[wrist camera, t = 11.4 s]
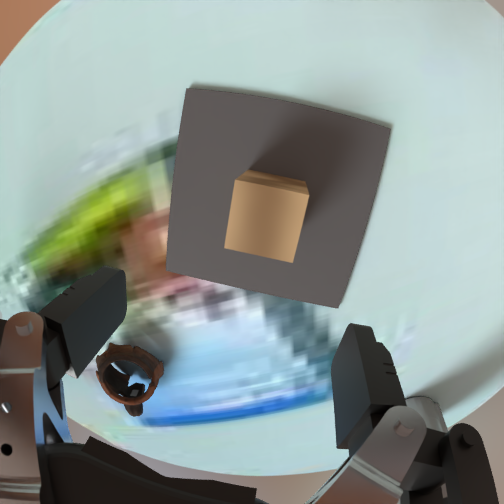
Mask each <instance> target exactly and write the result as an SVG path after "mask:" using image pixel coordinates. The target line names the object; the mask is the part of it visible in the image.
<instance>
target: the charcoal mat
mask: <svg viewBox="0 0 504 504" xmlns="http://www.w3.org/2000/svg"><path fill="white" fill-rule="evenodd" d="M390 130H391V129H389V128H386V127H383V126H380V125H377V124H374V123H371V122H368V121H364V120H361V119H358V118H354V117H351V116H347V115H343V114H340V113H336V112H332V111H328V110H324V109H320V108H316V107H311V106H307V105H302V104H297V103H293V102H288V101H282V100H277V99H271V98H265V97H259V96H253V95H246V94H239V93H231V92H222V91H213V90H202V89H189V88H186V94H185V100H184V105H183V111H182V117H181V124H180V130H179V137H178V144H177V151H176V159H175V167H174V176H173V185H172V194H171V204H170V215H169V228H168V241H167V257H166V271H170V272H174V273H178V274H182V275H186V276H190V277H194V278H198V279H203V280H207V281H211V282H215V283H220V284H224V285H228V286H233V287H237V288H242V289H246V290H250V291H255V292H260V293H264V294H269V295H273V296H278V297H283V298H288V299H292V300H297V301H302V302H307V303H312V304H317V305H322V306H327V307H332V308H339V305H340V302H341V300H342V297H343V294H344V291H345V289H346V286H347V283H348V280H349V277H350V275H351V272H352V269H353V266H354V263H355V260H356V257H357V254H358V251H359V248H360V244H361V241H362V238H363V235H364V232H365V228H366V225H367V222H368V218H369V215H370V211H371V208H372V204H373V201H374V197H375V193H376V189H377V186H378V182H379V178H380V174H381V170H382V166H383V161H384V157H385V153H386V148H387V144H388V139H389V135H390ZM247 170H253V171H258V172H263V173H268V174H273V175H278V176H283V177H288V178H292V179H297V180H301V181H305V182H306V185H307V189H308V192H309V199H308V203H307V207H306V211H305V216H304V220H303V224H302V228H301V232H300V236H299V240H298V244H297V248H296V252H295V256H294V260H293V263H291V262H286V261H281V260H277V259H272V258H267V257H263V256H258V255H254V254H249V253H244V252H240V251H235V250H231V249H226V248H224V246H225V239H226V233H227V226H228V220H229V214H230V208H231V201H232V195H233V189H234V183H235V179H237V178H238V177H239V176H240V175H242V174H243V173H244V172H246V171H247Z"/></svg>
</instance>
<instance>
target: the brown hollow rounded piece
mask: <svg viewBox="0 0 504 504" xmlns="http://www.w3.org/2000/svg"><path fill="white" fill-rule="evenodd" d="M121 360H126V361H130V362H133V363H135V364H137V365H138V366H140V367H141V368H142V369H143V370H144V371H145V372H146V374H147V376H148V378H149V379H150V378H151V377H152V380H151V383H150V384H149V387H148V389H147V391H146V392H145V393H144V391H145V385H144V384H139V383H134V384H133V385H131V386H129V387H128V383H129V382H128V381H129V379H130V376H129V375H126V374H123V373H121V372H119V371H118V370H117V369H115V368H114V367H113V366H112V364H111V363H113V362H116V361H121ZM96 363H97V368H98V371H96V375H97V378H98V380H99V382H100V384H101V386H102V388H103V390H104V391H105V392H106V394H108V395H109V396H110V397H111V398H112V399H114V400H115V401H117V402H119V403H122V404H124V406H125V408H126V410H127V412H128V413H129V414H130V415H131V416H134V417H135V416H140V415H141V414H142V413H143V404H142V403H143V402H145V401H147V400H148V399H149V398H150V397H151V396H152V395H153V393H154V390H155V389H156V387H157V385H158V382H159V378H160V377H161V376H162V375H163V373H164V367H163V363H162V361H160V362H159V360H158V359H157V358H156V357H154V356H153V355H151V354H150V353H148V352H147V351H145V350H143V349H141V348H140V347H138V346H135V347H134V348H133V347H132V346H131V345H115V344H113V343H110V344H109V348H108V351H105V352H104V353H103V354H101V355H100V356H99V355H97V357H96ZM119 394H121V395H123V396H121V395H119Z"/></svg>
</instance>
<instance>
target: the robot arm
mask: <svg viewBox="0 0 504 504" xmlns="http://www.w3.org/2000/svg"><path fill="white" fill-rule="evenodd" d="M126 311H127V299H126V276H125V272H124V271H123V270H120V269H117V268H113V267H110V266H106V265H105V266H103V267H101V268H100V269H99V270H98V271H96V272H95V273H94V274H93V275H88V276H86V277H83V278H81V279H78V280H77V281H76V282H75V283H73V284H72V285H71V286H70V288H67V289H66V290H65V291H63V293H62V294H60V295H59V296H57V297H56V298H55V299H54V300H53V301H51V302H50V303H49V304H48V305H47V306H46V307H44V308H43V309H42V310H41V311H40V312H39V313H34V312H20V313H17V314H15V315H13V316H12V317H11V318H9V319H8V321H7V320H3V319H0V504H268V503H266V502H264V501H262V500H260V499H257V498H255V497H256V490H257V489H256V488H250V487H244V486H239V485H233V484H229V483H224V482H219V481H215V480H198V479H196V480H195V479H182V478H170V477H165V476H162V475H160V474H159V473H157V472H155V471H154V470H152V469H151V468H149V467H147V466H146V465H144V464H143V463H141V462H139V461H138V460H137V459H135V458H134V457H132V456H131V455H129V454H128V453H126V452H124V451H122V450H119V449H117V448H114V447H112V446H110V445H107V444H106V443H103V442H101V441H99V440H97V439H95V438H93V437H91V436H90V437H89V439H88V440H87V442H86V444H80V443H73V441H72V438H71V435H70V432H69V429H68V424H67V417H66V409H65V399H64V389H63V381H62V379H61V378H62V377H63V376H64V375H65V373H66V374H68V375H70V376H72V377H74V378H76V379H77V378H78V377H79V376H80V374H81V373H82V372H83V371H84V369H85V368H86V367H87V365H88V364H89V363H90V362H91V360H92V359H93V358H94V356H95V355H96V354H97V353H98V351H99V350H100V349H101V348H102V346H103V345H104V344H105V343H106V341H107V340H108V339H109V338H110V336H111V335H112V334H113V333H114V332H115V330H116V329H117V328H118V327H119V325H120V324H121V323H122V322H123V320H124V318H125V315H126ZM393 365H394V363H393V360H392V357H391V354H390V352H389V351H388V350H387V349H386V347H385V346H384V345H383V344H382V343H380V342H376V339H375V336H374V333H373V330H372V328H371V327H370V326H364V325H358V324H353V323H350V324H349V325H348V327H347V328H346V331H345V333H344V335H343V338H342V340H341V342H340V344H339V347H338V349H337V351H336V353H335V355H334V358H333V361H332V366H331V378H332V389H333V400H334V413H335V428H336V445H337V449H349V457H348V458H347V459H346V460H345V461H344V462H343V464H342V465H341V466H340V467H339V468H338V469H337V470H336V472H335V473H334V474H333V475H332V476H331V477H330V479H328V481H327V482H326V483H325V484H324V485H323V486H322V487H321V488H320V489H319V490H318V491H317V492H316V493H315V494H314V495H313V496H312V497H311V498H310V499H309V500H308V501H307V502H306V503H305V504H499V502H498V497H497V492H496V488H495V483H494V479H493V476H492V471H491V468H490V464H489V460H488V457H487V454H486V450H485V447H484V444H483V441H482V438H481V436H480V434H479V433H478V431H477V430H476V429H475V428H474V427H472V426H470V425H468V424H465V423H460V424H456V425H454V426H453V427H452V428H451V429H450V431H448V429H447V426H446V423H445V420H444V418H443V415H442V412H441V409H440V407H439V404H438V403H434V402H433V401H432V400H431V399H429V398H427V397H413V398H409V399H406V400H405V398H404V394H403V391H402V388H401V385H400V382H399V378H398V375H396V374H397V372H396V369H395V366H393Z"/></svg>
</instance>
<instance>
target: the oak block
mask: <svg viewBox="0 0 504 504" xmlns="http://www.w3.org/2000/svg"><path fill="white" fill-rule="evenodd" d="M308 199H309V192H308V189H307V185H306V182H305V181H301V180H297V179H292V178H288V177H283V176H278V175H273V174H268V173H263V172H258V171H253V170H247V171H246V172H244V173H243V174H242V175H240V176H239V177H238V178H237V179H235V183H234V189H233V195H232V201H231V208H230V214H229V220H228V226H227V233H226V239H225V246H224V248H226V249H231V250H235V251H240V252H244V253H249V254H254V255H258V256H263V257H267V258H272V259H277V260H281V261H286V262H291V263H293V260H294V256H295V252H296V248H297V244H298V240H299V236H300V232H301V228H302V224H303V220H304V216H305V211H306V207H307V203H308Z"/></svg>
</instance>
